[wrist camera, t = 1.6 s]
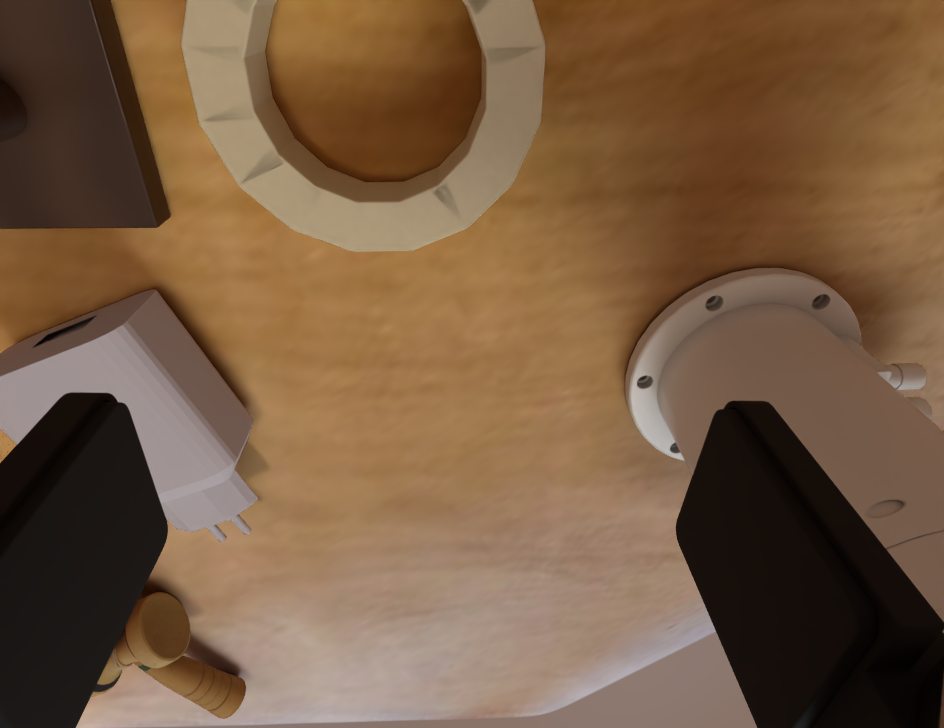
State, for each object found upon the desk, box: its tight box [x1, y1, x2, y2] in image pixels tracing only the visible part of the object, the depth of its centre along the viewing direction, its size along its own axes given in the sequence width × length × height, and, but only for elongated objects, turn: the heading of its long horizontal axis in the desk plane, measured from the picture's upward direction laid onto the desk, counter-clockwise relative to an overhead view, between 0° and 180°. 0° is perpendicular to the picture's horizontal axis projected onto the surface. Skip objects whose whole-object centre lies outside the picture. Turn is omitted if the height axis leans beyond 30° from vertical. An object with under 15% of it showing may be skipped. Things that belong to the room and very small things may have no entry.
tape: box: [181, 0, 546, 251], centre depth 23 cm, size 13×13×3 cm
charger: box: [0, 289, 258, 542], centre depth 32 cm, size 5×9×15 cm
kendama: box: [91, 592, 246, 719], centre depth 42 cm, size 8×6×18 cm
